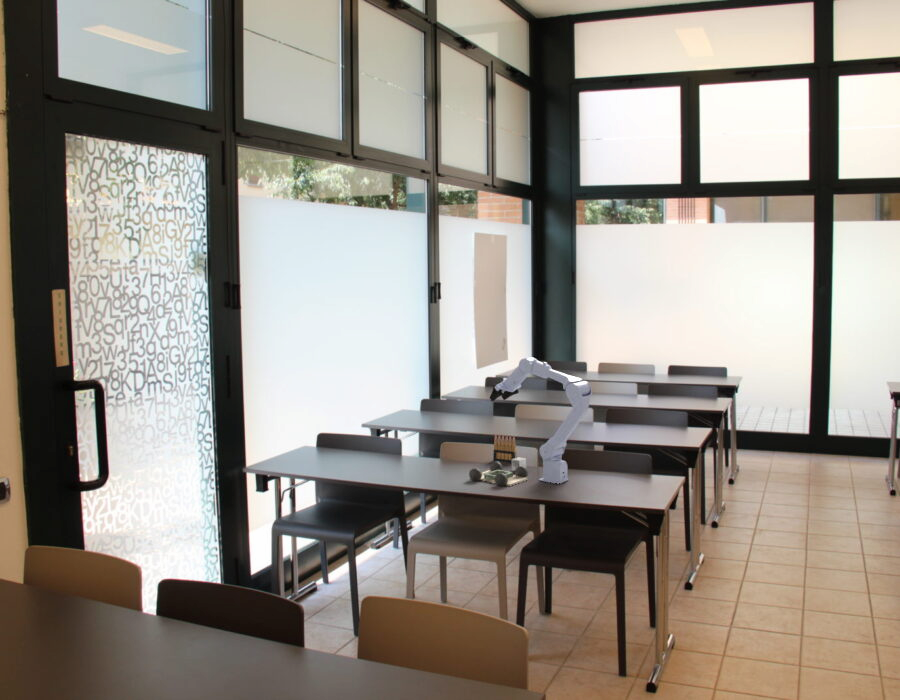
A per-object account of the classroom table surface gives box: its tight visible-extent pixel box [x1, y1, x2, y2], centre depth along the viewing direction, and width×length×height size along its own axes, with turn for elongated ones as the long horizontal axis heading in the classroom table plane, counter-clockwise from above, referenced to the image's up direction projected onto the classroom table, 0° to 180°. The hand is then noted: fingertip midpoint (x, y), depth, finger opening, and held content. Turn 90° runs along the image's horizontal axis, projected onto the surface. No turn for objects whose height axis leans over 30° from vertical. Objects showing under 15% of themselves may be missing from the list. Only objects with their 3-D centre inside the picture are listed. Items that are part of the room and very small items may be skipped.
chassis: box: [468, 461, 529, 487], centre depth 347 cm, size 20×16×5 cm
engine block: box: [511, 456, 527, 472], centre depth 361 cm, size 4×5×5 cm
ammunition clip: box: [492, 433, 517, 464], centre depth 377 cm, size 11×2×12 cm, turn 61°
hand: (497, 398), depth 360 cm, fingers open, 7 cm apart
